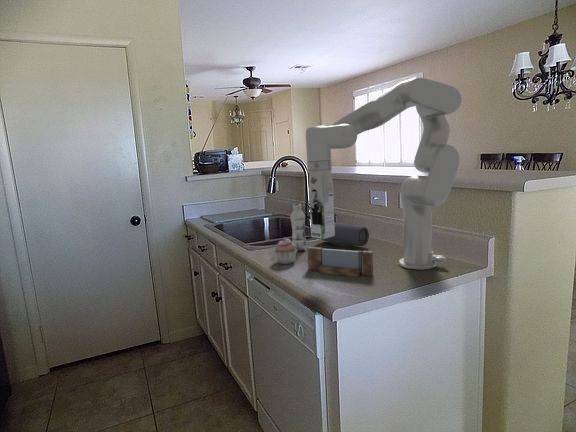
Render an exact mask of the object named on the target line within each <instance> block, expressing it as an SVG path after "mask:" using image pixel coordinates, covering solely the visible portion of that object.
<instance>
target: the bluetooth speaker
mask: <svg viewBox="0 0 576 432" xmlns="http://www.w3.org/2000/svg"><path fill="white" fill-rule="evenodd" d="M334 225H335V236H332V237H329V238H326V239H320V238H318V240H321V241H325V242H328V243H331V245H333V246H338V247H346V248H352V247H364V246H365V245H367V244H368V242H369V238H370V232H369V230H368V228H367V227H366V226H364V225H359V224H358V225H357V224H350V223H345V222H335V221H334Z"/></svg>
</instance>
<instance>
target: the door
mask: <svg viewBox="0 0 576 432" xmlns="http://www.w3.org/2000/svg"><path fill="white" fill-rule="evenodd" d="M362 252H363V250H349V249H348V250H346V249H335V248H334V249H333V248H323V249H322V265H323V266H331V267H341V268H352V269H360V275H363V262H362Z"/></svg>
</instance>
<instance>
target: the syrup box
mask: <svg viewBox="0 0 576 432" xmlns="http://www.w3.org/2000/svg"><path fill="white" fill-rule="evenodd" d="M328 193H329V194H328V195H329V201H328V202H327V203H325V204H323V203H322V202H321V211H320V212H322V224H321V225H313V224H312V212H311V208H310V207H309V216H310V217H309V218H310V220H309V221H310V236H311V238H316V239H319V238H320V239H319V240H321V239H326V238H329V237H332V236H335V225H334V222H335V203H334V201H335V200H334V199H333V192H328ZM315 202H319V200H318V201H315ZM317 207H318V205H317Z"/></svg>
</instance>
